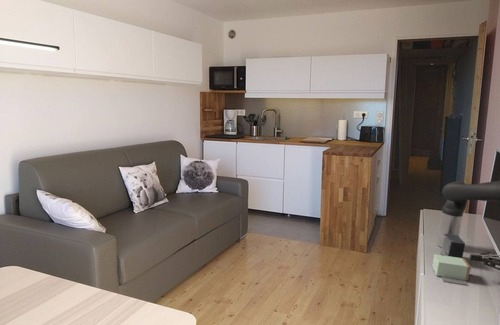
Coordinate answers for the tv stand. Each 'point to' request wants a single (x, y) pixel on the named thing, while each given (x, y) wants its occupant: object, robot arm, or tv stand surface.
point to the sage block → (451, 267)
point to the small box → (452, 246)
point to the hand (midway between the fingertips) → (470, 257)
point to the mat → (454, 280)
